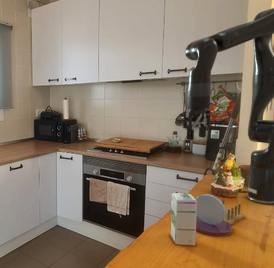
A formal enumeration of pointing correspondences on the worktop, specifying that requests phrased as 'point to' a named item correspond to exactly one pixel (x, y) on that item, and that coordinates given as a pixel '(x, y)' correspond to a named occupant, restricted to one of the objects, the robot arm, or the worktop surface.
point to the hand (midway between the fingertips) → (196, 138)
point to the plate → (210, 209)
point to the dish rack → (233, 214)
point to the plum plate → (213, 228)
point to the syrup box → (183, 218)
